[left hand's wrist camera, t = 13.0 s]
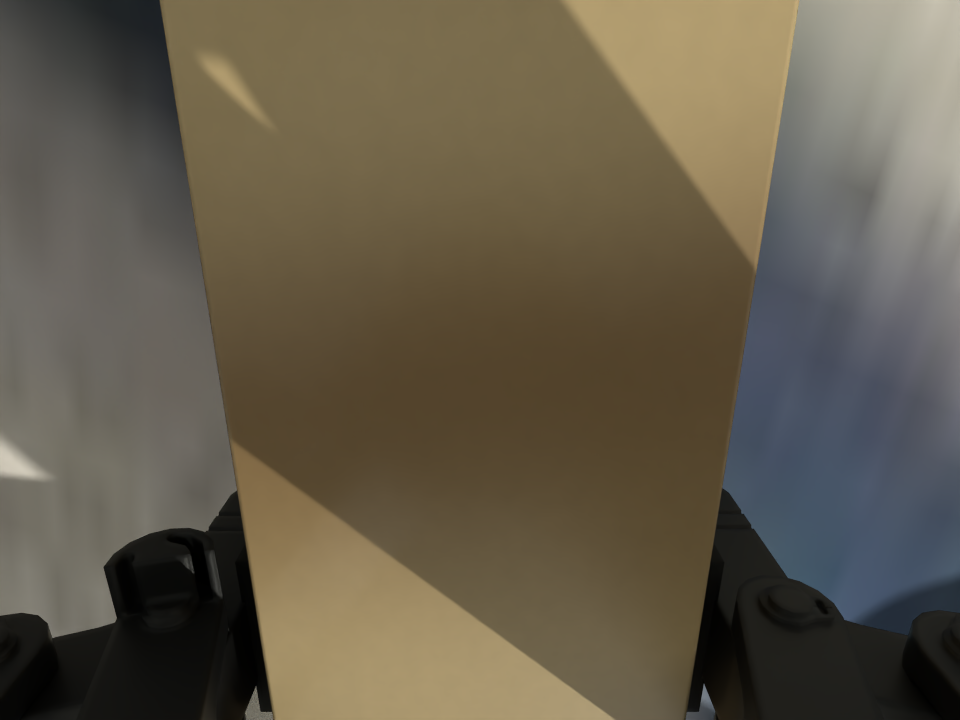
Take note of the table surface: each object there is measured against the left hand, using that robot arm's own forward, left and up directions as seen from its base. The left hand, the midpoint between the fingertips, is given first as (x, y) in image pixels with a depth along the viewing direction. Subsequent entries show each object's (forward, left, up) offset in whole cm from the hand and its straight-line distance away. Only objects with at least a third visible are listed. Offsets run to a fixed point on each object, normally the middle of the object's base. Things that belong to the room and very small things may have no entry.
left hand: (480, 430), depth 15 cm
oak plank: (+18, 0, 0) cm, 18 cm away
